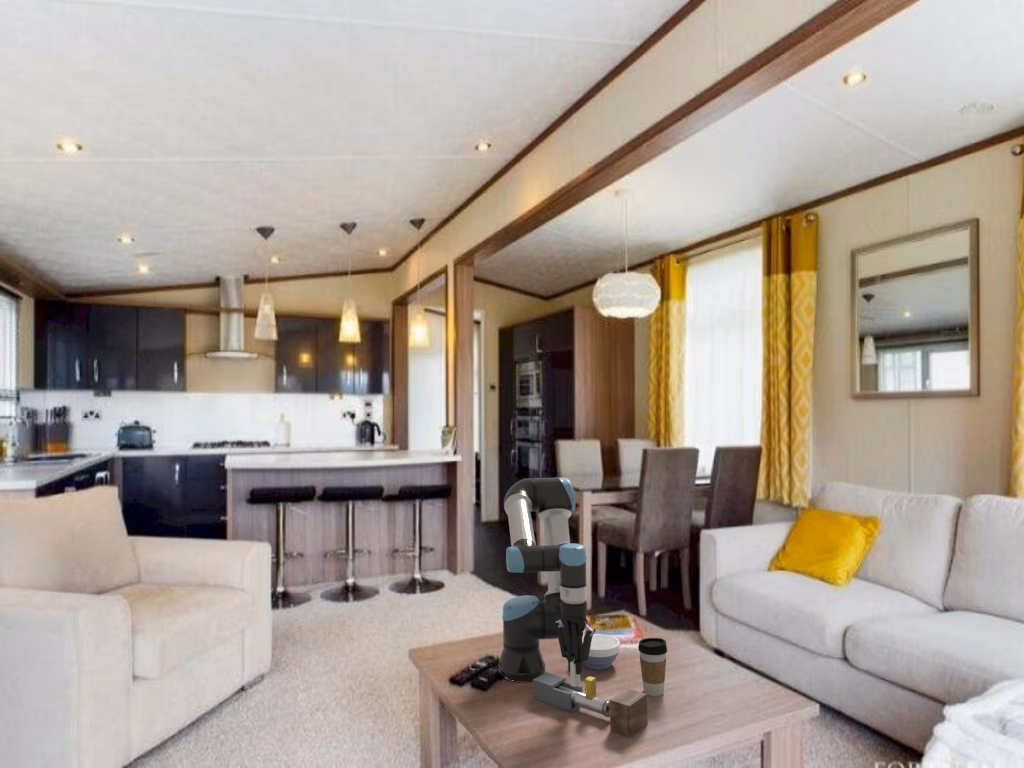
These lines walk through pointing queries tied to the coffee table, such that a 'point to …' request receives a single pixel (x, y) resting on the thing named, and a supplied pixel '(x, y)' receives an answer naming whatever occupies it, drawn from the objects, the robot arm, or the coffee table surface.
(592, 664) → the bowl
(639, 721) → the socket
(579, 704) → the tube
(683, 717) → the coffee table surface
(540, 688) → the sleeve
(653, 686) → the coffee cup
